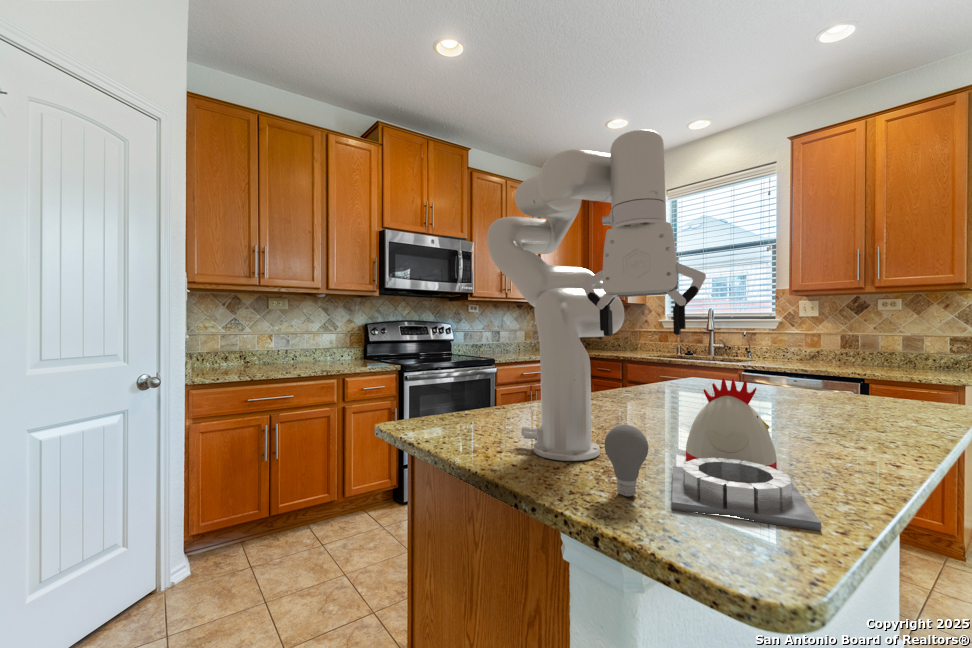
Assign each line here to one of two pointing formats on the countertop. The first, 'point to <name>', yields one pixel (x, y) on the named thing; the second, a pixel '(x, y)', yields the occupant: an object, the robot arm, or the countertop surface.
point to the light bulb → (626, 456)
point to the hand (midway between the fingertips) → (641, 335)
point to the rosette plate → (763, 515)
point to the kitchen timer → (730, 429)
